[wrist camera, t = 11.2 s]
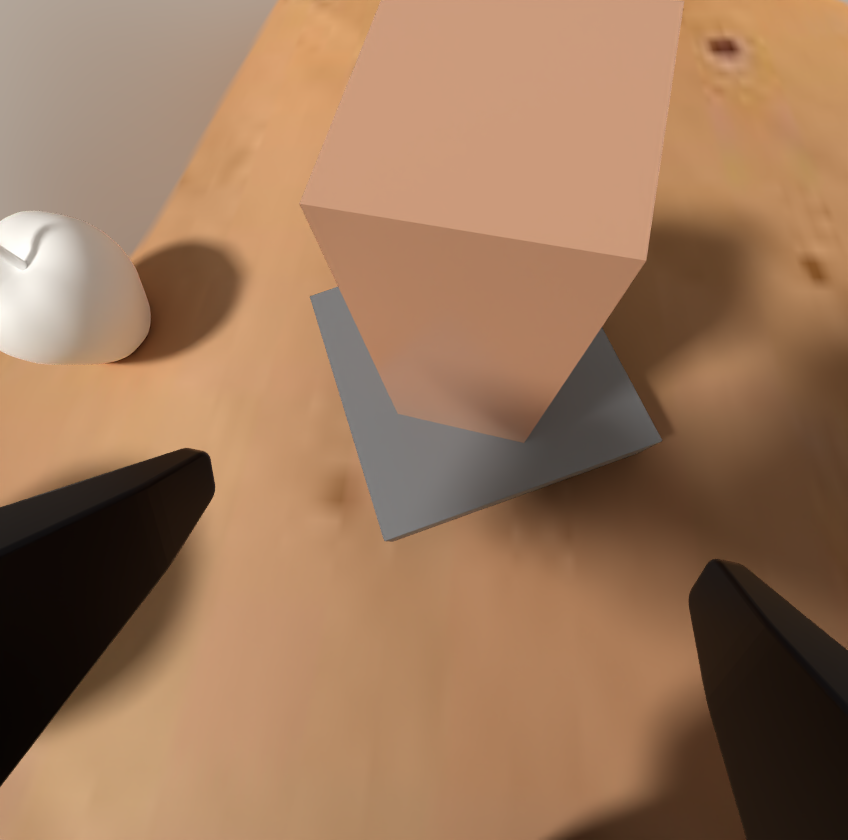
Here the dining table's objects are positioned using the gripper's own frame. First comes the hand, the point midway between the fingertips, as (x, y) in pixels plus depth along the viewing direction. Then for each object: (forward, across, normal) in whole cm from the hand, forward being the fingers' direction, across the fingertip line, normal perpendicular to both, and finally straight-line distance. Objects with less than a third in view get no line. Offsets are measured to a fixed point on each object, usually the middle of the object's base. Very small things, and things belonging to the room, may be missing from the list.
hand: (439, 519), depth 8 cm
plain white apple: (+14, +20, +4) cm, 25 cm away
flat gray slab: (+14, 0, +4) cm, 15 cm away
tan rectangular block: (+12, 0, +2) cm, 12 cm away
